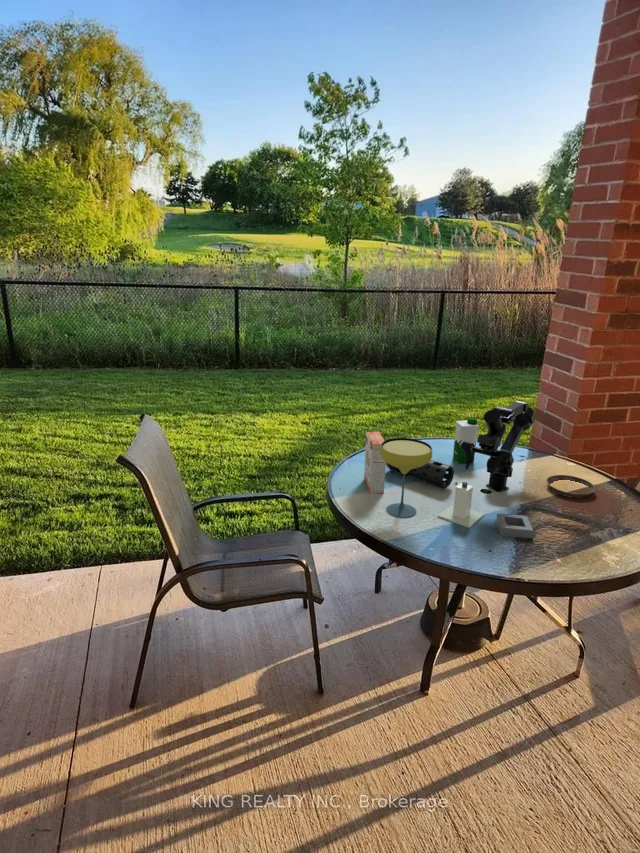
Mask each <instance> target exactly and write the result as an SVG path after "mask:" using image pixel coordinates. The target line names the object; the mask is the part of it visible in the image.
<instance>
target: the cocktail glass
mask: <svg viewBox="0 0 640 853" xmlns="http://www.w3.org/2000/svg"><path fill="white" fill-rule="evenodd" d="M380 455H381V457H382V459H383V460H384V461H386V462H387V463H388V464H390V465H392V466H394V467H397V468H399V470H400V471H401V472H402V473H403V475H402V485H401V488H402V489H401V496H400V497H401V498H400V503H399V502H397V503H392V504H389V505H388V506H387V507H386V512H387V514H389V515H390V514H391V516H392V515H393V516H392V517H395V518H399V517H400V518H401V519H406V518H407V519H408V518H412V517H414V516H416V515H417V509H416V508H415V507H414V506H412V505H410V504H408V503H405V502H404V496H405V495H404V494H405V479H406V476H405V474H406V473H408V472H409V471H410V470H411V469H414V468H418V467H421V466H424V465H426V464H427V463H428V462H429V461H430V460H432V457H433V448H432V446H431V445H430V444H429V443H428V442H425V441H422V440H419V439H415V438H407V437H397V438H396V437H395V438H390V439H386V440H384V442H383V443H382V444H381V446H380Z"/></svg>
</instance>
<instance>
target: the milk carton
mask: <svg viewBox="0 0 640 853" xmlns="http://www.w3.org/2000/svg"><path fill="white" fill-rule="evenodd" d="M479 430H480V425H479V424H478V418H476V417H472V416H471V417H468V418H467V420H456V421H455V431H454V444H453V453H452V454H453V456H452V458H453V460H454V461H455V462H456V463H457V464H460V465H466V454H465V453H464V452H463V450H462V448H461V444H462V442H464V441H467V442H471V443H474V446H475V447H477V440H478V432H479ZM475 455H476V454H473V456H474V458H473V460H472V462H471V464H474V463H475Z"/></svg>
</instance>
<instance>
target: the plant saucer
mask: <svg viewBox="0 0 640 853" xmlns="http://www.w3.org/2000/svg"><path fill="white" fill-rule="evenodd" d="M558 480H570V481H575V482H579V483H582V484H584V485H586V486H588V487H589V488H591V490H592V492H591V493H587V494H575V493H568V492H564V491H561V490H558V489H556V488H554V487H552V486H550V484H551V483H553V482H554V481H558ZM546 483H547V486H548V488H550V490H551V491H553V492H554V493H555V492H556V493H555V494H557V493H559V494H558V495H560V494H561V495H560V496H563V495H566V496H571V497H570V498H572V497H583V498H586V497H585V496H587V497H588V495H589V496H591V495H592V494H593V493H594V492H595V490H596V487H595V485H594V484H593V483H592V482H590V481H589V480H586V479H583V478H581V477H577V476H573V475H567V474H566V475H565V474H556V475H555V474H553V475H551V476H548V477H547V478H546ZM566 496H565V497H566Z"/></svg>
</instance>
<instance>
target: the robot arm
mask: <svg viewBox="0 0 640 853" xmlns="http://www.w3.org/2000/svg"><path fill="white" fill-rule="evenodd" d="M483 420H484V423H485V425H486V427H487V429H488V430H487V432H486V433H485V434H480V433H479V435H478V436H477V439H476V444H478V446H479V447H477V446H476V447H475V446H474V443H471V442H467V441H464V442H462V444H461V448H462V450H463V452H464V453H465V454H466V464H465V470H466V471H468V470H469V468H470V466H471V465H472V463H471V462H472V460H473V458H474V459H475V456H473V454H475V453H476V454H477V453H478V454H481V455H484V456H488V459H487V461H486V472H487V473H490V474H489V479H488V483H487V484H485V486H486V487H488V488H489V489H491V490H493V491H495V492H497V493H498V492H502V491H506V490H509V489H510V487H508V486H507V482H508V478H511V477H512V475H513V470H514V469H513V464H514V461H515V459H514V457H513V456H514V455H513V452H514V450H515V448H516V447H517V445H518V442H519V440H520V439H521V437H522V435H523V433H524V432H526V431H528V430H529V429H531V428H532V425H534V424H535V422H536V413H535V410H533V409H532V408H531V406H530V405H529V402H526V401H521V400H516V401H514V402H513V403H511V404H509V405H507V406H496V407H492V409H490V410H488V411H486V412H485V413H484V414H483ZM505 424H506V425H510V424H512V426H511V428H510V430H509V432H508V433H507V427H506V425H505ZM505 434H507V436H506V437H505V438H504V435H505ZM503 438H504V441H503V443H502V445H501V442H502V439H503ZM499 447H500V448H499ZM476 454H475V455H476Z"/></svg>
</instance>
